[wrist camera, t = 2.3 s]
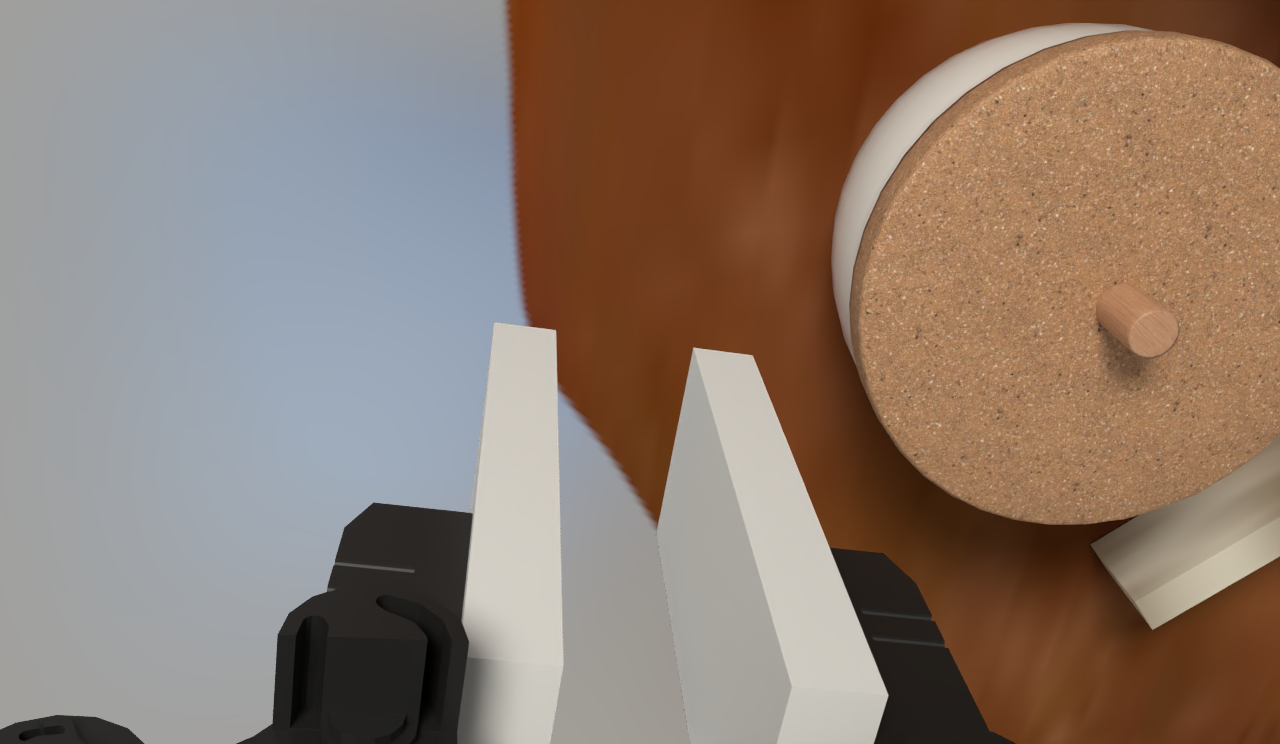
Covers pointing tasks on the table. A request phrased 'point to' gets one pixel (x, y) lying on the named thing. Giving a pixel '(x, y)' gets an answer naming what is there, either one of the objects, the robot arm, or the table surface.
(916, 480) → the table surface
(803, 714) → the robot arm
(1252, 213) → the lidded jar
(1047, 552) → the table surface
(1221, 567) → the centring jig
